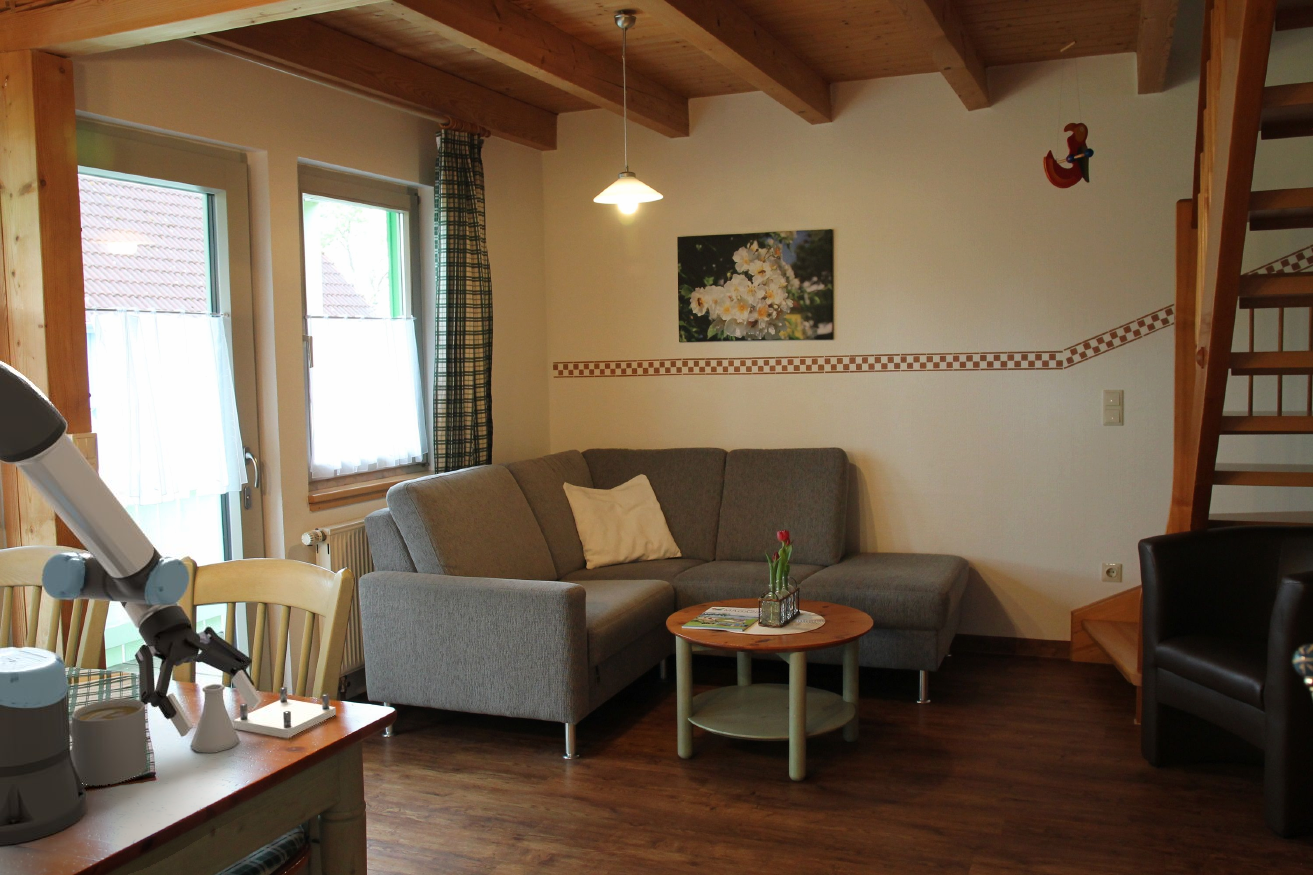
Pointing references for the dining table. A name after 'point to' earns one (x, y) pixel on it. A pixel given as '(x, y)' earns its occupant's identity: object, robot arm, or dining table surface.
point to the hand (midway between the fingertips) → (223, 717)
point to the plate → (272, 718)
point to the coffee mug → (109, 741)
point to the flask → (214, 723)
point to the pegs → (287, 713)
